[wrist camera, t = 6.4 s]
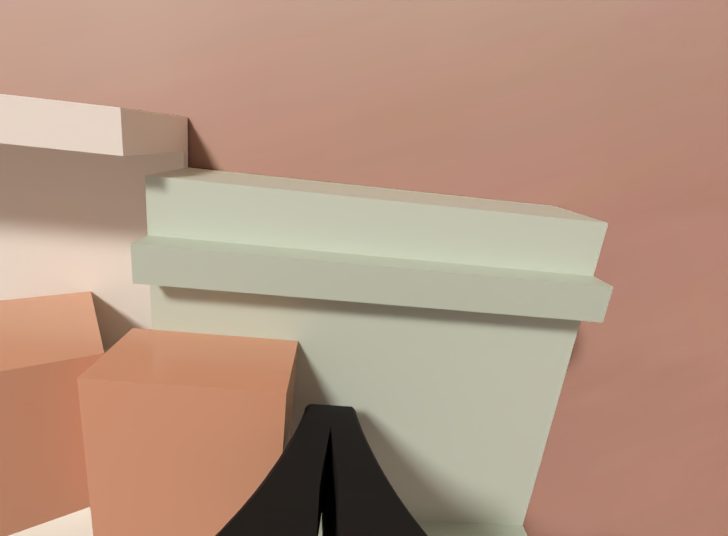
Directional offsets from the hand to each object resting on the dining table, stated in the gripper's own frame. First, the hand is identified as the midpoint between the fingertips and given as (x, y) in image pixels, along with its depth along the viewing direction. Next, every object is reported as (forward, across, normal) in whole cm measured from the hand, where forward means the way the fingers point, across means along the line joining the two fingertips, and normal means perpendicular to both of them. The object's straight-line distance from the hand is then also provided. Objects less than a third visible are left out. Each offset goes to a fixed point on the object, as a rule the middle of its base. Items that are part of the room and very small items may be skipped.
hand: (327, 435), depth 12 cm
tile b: (+2, +7, 0) cm, 7 cm away
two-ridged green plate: (+4, -1, 0) cm, 4 cm away
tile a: (+1, +3, 0) cm, 3 cm away
